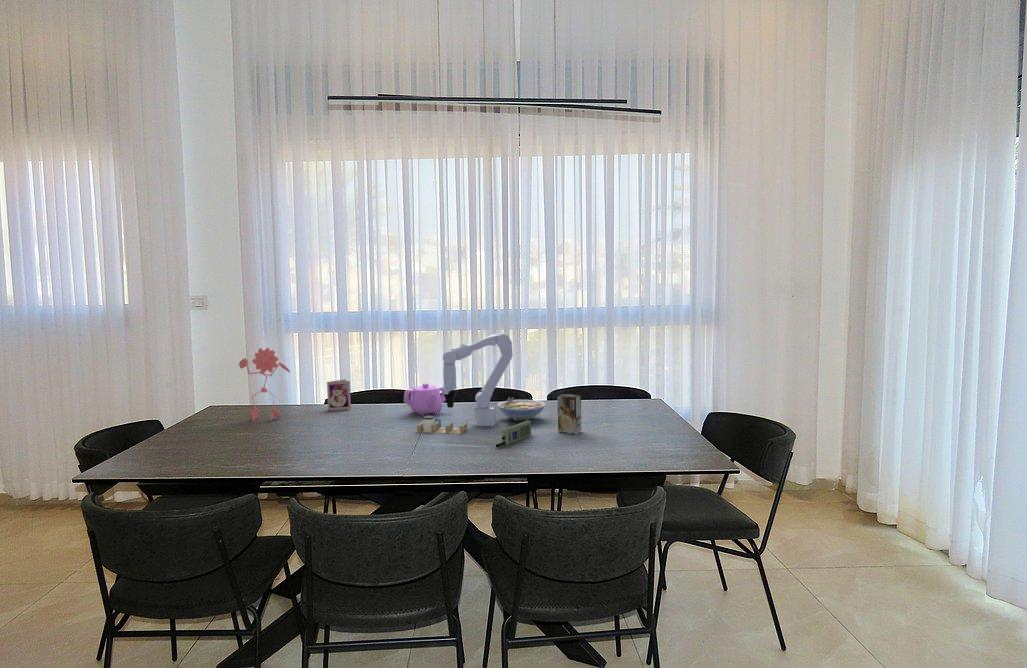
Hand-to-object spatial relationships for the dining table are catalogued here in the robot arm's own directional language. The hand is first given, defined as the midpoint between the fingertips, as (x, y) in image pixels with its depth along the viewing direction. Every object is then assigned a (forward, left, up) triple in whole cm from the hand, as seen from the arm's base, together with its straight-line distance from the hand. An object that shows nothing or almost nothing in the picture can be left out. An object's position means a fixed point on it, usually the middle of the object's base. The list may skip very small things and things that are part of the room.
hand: (450, 407), depth 291 cm
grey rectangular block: (+7, +10, -8) cm, 15 cm away
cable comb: (+1, +8, -9) cm, 13 cm away
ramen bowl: (-29, -21, -10) cm, 37 cm away
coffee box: (-54, +1, -10) cm, 55 cm away
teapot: (+21, -29, -10) cm, 37 cm away
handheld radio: (-33, +21, -10) cm, 40 cm away
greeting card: (+70, -34, -10) cm, 78 cm away
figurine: (+95, -8, -10) cm, 96 cm away
